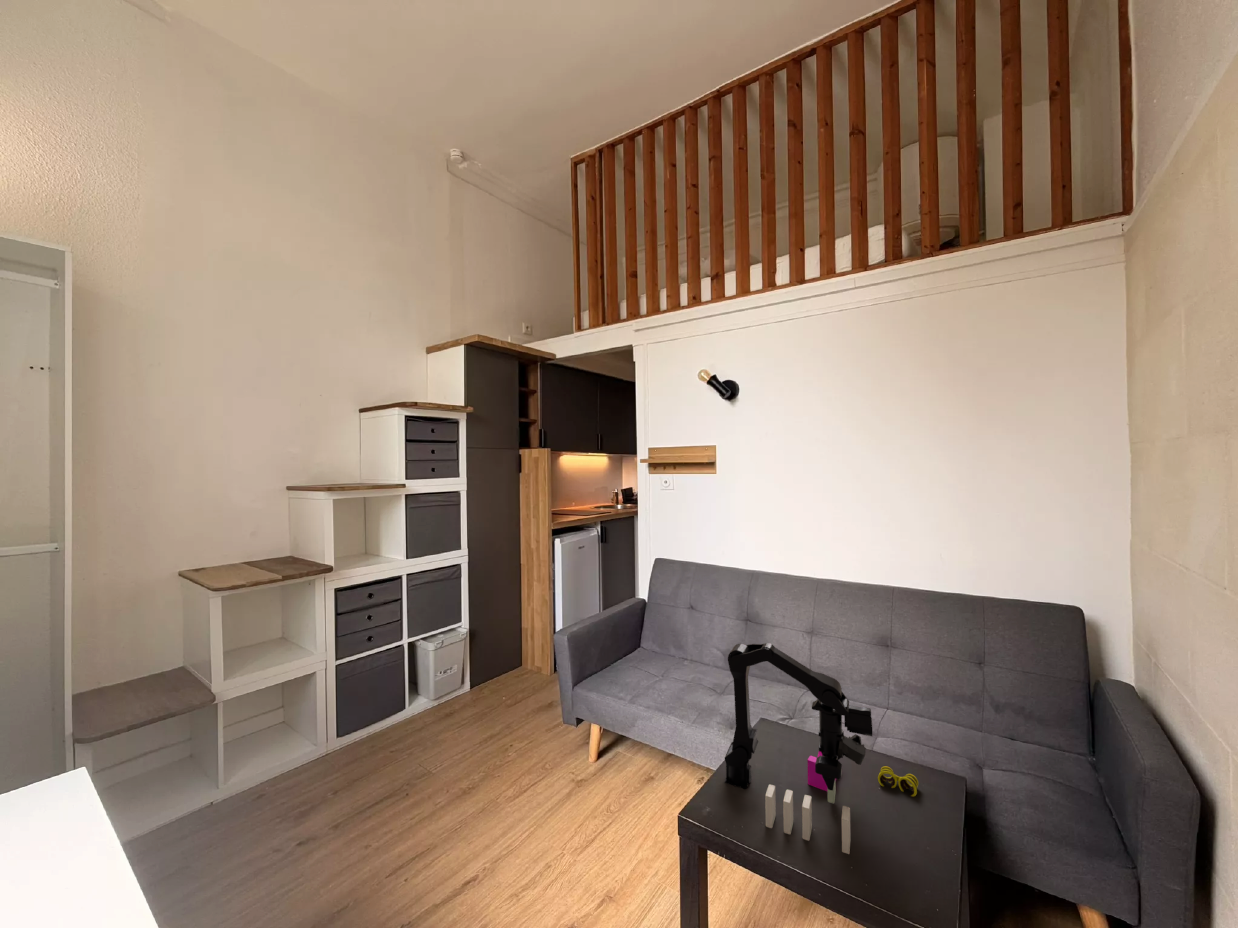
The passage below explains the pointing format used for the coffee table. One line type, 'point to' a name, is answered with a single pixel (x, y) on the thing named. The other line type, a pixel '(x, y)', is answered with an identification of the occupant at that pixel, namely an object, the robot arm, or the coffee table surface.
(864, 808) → the coffee table surface
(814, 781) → the toy block
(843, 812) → the domino
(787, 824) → the domino
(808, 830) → the domino
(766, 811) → the domino
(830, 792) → the pale green domino
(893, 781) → the opera glasses
